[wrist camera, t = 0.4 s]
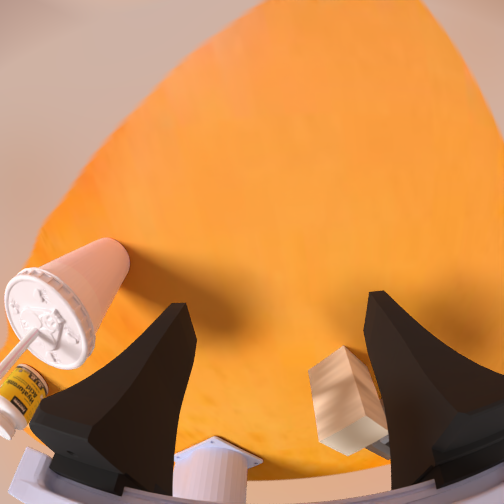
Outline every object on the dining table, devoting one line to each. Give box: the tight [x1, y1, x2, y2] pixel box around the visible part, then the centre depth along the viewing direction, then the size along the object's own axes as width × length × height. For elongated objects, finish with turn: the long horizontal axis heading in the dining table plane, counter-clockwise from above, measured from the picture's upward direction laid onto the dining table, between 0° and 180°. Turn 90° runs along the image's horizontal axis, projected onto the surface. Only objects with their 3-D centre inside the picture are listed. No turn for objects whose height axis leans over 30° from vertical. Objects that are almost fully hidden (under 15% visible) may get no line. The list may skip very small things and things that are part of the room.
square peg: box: [308, 345, 388, 456], centre depth 22 cm, size 4×4×8 cm
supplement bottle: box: [0, 364, 48, 440], centre depth 25 cm, size 5×5×10 cm
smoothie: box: [0, 238, 130, 380], centre depth 16 cm, size 6×6×14 cm
